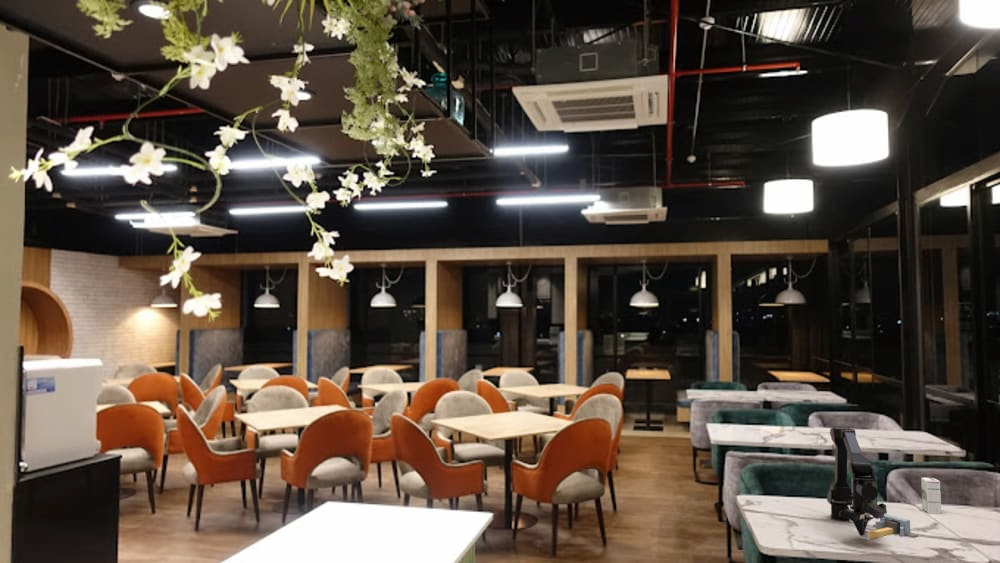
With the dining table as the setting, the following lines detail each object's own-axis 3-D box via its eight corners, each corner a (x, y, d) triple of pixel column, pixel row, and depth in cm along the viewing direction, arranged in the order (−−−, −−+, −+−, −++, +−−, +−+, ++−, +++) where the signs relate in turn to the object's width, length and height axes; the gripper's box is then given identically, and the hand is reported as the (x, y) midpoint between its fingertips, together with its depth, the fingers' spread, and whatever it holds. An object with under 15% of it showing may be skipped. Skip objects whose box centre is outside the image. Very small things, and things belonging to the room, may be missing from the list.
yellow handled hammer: (868, 540, 252) (868, 529, 252) (858, 537, 255) (858, 527, 256) (901, 532, 263) (901, 522, 263) (891, 529, 266) (891, 519, 266)
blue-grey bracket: (909, 538, 255) (908, 524, 255) (868, 527, 269) (868, 513, 269) (918, 536, 258) (917, 522, 258) (877, 525, 272) (877, 511, 272)
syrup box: (941, 514, 290) (940, 480, 291) (927, 513, 291) (926, 479, 292) (936, 510, 296) (935, 477, 296) (921, 509, 297) (920, 477, 298)
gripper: (866, 501, 243) (867, 545, 242) (895, 496, 252) (896, 538, 251) (838, 494, 253) (838, 536, 252) (867, 489, 262) (868, 530, 261)
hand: (861, 535), depth 253 cm, fingers closed
